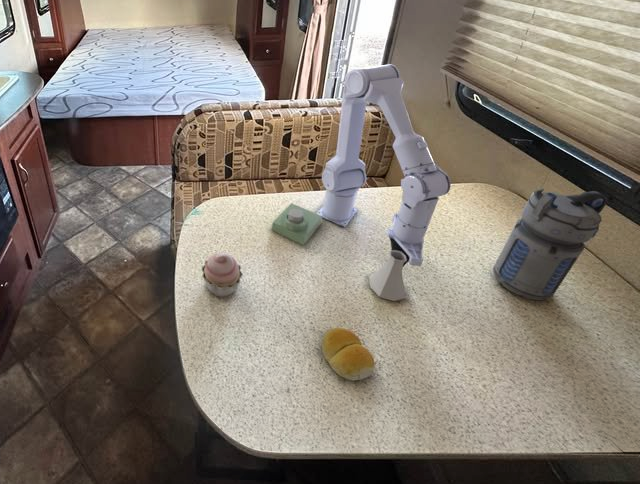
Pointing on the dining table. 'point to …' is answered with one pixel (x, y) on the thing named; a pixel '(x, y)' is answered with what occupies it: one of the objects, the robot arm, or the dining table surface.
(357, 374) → the bread roll
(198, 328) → the dining table surface
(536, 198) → the beverage bottle
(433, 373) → the dining table surface
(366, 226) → the dining table surface
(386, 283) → the flask
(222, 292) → the cupcake
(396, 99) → the robot arm
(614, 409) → the dining table surface
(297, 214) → the grey short cylinder
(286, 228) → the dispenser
